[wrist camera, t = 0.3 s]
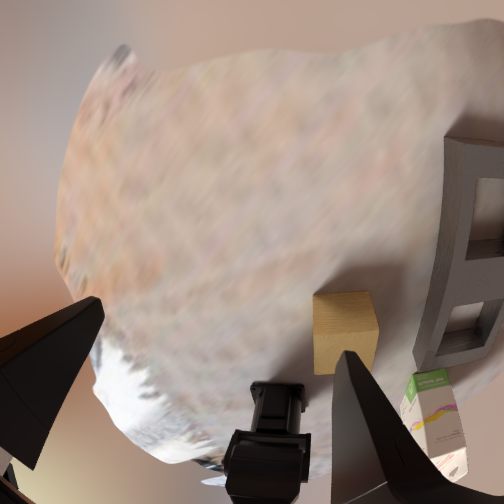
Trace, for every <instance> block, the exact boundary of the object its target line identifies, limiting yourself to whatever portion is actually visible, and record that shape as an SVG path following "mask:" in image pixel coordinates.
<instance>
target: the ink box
mask: <svg viewBox="0 0 504 504" xmlns="http://www.w3.org/2000/svg"><path fill="white" fill-rule="evenodd" d="M400 410H401V417H402V421H403V424H405V426H406V427H407V429H408V430H409V432H410V433H411V435H412V436H413V438H414V439H415V441H416V442H417V443H418V445H419V446H420V447H421V449H422V450H423V451H424V453H425V454H426V455H427V456H428V457H429V459H430V460H431V461H432V462H433V464H434V465H435V466H436V467H437V468H438V470H439V471H440V470H441V473H442V474H443V476H445V477H446V478H447V479H448V480H450V481H451V482H453V483H454V482H455V481H457V480H458V479H460V478H461V477H463V476H464V475H465V474H467V473H468V458H467V451H466V442H465V437H464V433H463V429H462V424H461V420H460V416H459V413H458V409H457V405H456V401H455V398H454V394H453V391H452V388H451V384H450V381H449V378H448V375H447V372H446V369H445V368H442V369H438V370H434V371H429V372H424V373H420V374H415V375H412V378H411V381H410V383H409V386H408V389H407V391H406V393H405V396H404V399H403V401H402V403H401V406H400ZM457 466H458V471H457V472H456V473H455V475H454V476H453V475H452V476H450V472H451V471H452V470H453V469H454V468H456V467H457Z"/></svg>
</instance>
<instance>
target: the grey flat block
mask: <svg viewBox="0 0 504 504" xmlns="http://www.w3.org/2000/svg"><path fill="white" fill-rule="evenodd" d="M476 177H480V178H501V179H504V143H501V142H493V141H485V140H476V139H466V138H454V137H444V181H443V198H442V210H441V220H440V229H439V236H438V244H437V250H436V257H435V262H434V268H433V273H432V278H431V283H430V288H429V293H428V297H427V301H426V305H425V309H424V313H423V317H422V321H421V325H420V328H419V332H418V335H417V338H416V342H415V345H414V348H413V351H412V352H413V356H414V359H415V362H416V366H417V369H418V373H420V372H425V371H431V370H436V369H441V368H446V367H451V366H455V365H460V364H464V363H468V362H472V361H476V360H480V359H484V358H485V357H486V356H487V354H488V352H489V350H490V348H491V346H492V344H493V342H494V340H495V338H496V336H497V334H498V332H499V329H500V327H501V325H502V323H503V320H504V232H503V237H502V239H490V240H477V241H469V235H470V229H471V223H472V216H473V208H474V200H475V189H476ZM479 302H484V304H483V307H482V310H481V313H480V315H479V318H478V320H477V323H476V325H475V328H470V329H465V330H460V331H455V332H449V333H444V331H445V328H446V325H447V322H448V319H449V316H450V313H451V310H452V307H455V306H461V305H467V304H473V303H479Z"/></svg>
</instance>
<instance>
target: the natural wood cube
mask: <svg viewBox="0 0 504 504" xmlns="http://www.w3.org/2000/svg"><path fill="white" fill-rule="evenodd" d="M378 336H379V327H378V323H377V319H376V315H375V311H374V307H373V303H372V300H371V296H370V292H369V291H360V292H347V293H332V294H316V295H313V342H314V375H323V374H335V367H336V364H337V362H338V360H339V358H340V356H341V354H342V352H343V351H344V350H350V351H355V352H356V353H357V354H358V356H359V357H360V359H361V360H362V362H363V363H364V365H365V366H366V367H367V369H368V370H369V371H371V370H372V366H373V361H374V356H375V351H376V346H377V341H378Z"/></svg>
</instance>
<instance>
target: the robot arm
mask: <svg viewBox="0 0 504 504" xmlns="http://www.w3.org/2000/svg"><path fill="white" fill-rule="evenodd" d="M104 318H105V314H104V310H103V306H102V302H101V300H100V299H99V298H97V297H94V296H89V297H87V298H85V299H83V300H81V301H78V302H76V303H74V304H72V305H70V306H68V307H66V308H63V309H61V310H59V311H57V312H55V313H53V314H51V315H48V316H47V317H44V318H42V319H40V320H38V321H36V322H34V323H32V324H29V325H27V326H25V327H23V328H21V329H20V330H17V331H15V332H13V333H11V334H9V335H6V336H4V337H2V338H0V504H35V503H34V502H33V501H31V500H30V499H29V498H28V497H26V496H25V495H24V494H22V493H21V492H20V491H19V490H18V489H19V488H18V485H17V481H16V478H15V474H14V470H13V466H12V464H11V463H10V461H11V460H12V458H13V457H14V458H16V459H17V460H18V461H20V462H21V463H22V464H24V465H25V466H27V467H28V468H30V469H31V470H32V471H33V470H34V468H35V466H36V463H37V461H38V458H39V456H40V453H41V451H42V449H43V446H44V444H45V441H46V439H47V437H48V434H49V431H50V430H51V427H52V425H53V423H54V421H55V418H56V416H57V414H58V412H59V410H60V408H61V406H62V404H63V402H64V400H65V398H66V396H67V394H68V392H69V390H70V388H71V386H72V384H73V382H74V380H75V378H76V376H77V374H78V373H79V371H80V369H81V367H82V365H83V363H84V361H85V360H86V358H87V356H88V354H89V352H90V350H91V348H92V346H93V344H94V341H95V339H96V337H97V334H98V332H99V330H100V328H101V325H102V323H103V321H104ZM250 390H251V394H252V397H253V400H254V403H255V409H254V415H253V420H252V425H251V431H241V430H238V429H236V430H235V432H234V434H233V435H232V438H231V441H230V443H229V446H228V449H227V451H226V454H225V455H224V457H223V459H222V461H221V463H222V465H223V466H224V474H225V476H226V477H227V480H226V484H225V488H226V490H227V493H228V495H230V498H231V500H232V502H233V504H294V503H295V502H296V500H297V499H298V497H299V492H300V484H301V483H307V482H308V476H309V466H310V449H311V433H306V434H299V432H300V419H301V413H304V412H305V387H304V386H303V385H258V384H253V385H251V386H250ZM304 451H305V452H304ZM303 452H304V453H303ZM331 485H332V486H331V504H504V496H493V495H489V494H486V493H483V492H479V491H476V490H473V489H470V488H467V487H464V486H461V485H458V484H455V483H453V482H451V481H450V480H448V479H447V478H446V477H445V476H443V474H442V473H441V472H440V471H439V470H438V468H437V467H436V466H435V465H434V464H433V462H432V461H431V460H430V459H429V457H428V456H427V455H426V454H425V453H424V451H423V450H422V449H421V447H420V446H419V445H418V443H417V442H416V441H415V439H414V438H413V436H412V435H411V433H410V432H409V430H408V429H407V427H406V426H405V424H403V421H402V420H401V418H400V417H399V415H398V414H397V412H396V411H395V409H394V408H393V406H392V405H391V403H390V402H389V400H388V399H387V397H386V396H385V394H384V393H383V391H382V390H381V388H380V387H379V385H378V384H377V382H376V381H375V379H374V378H373V376H372V375H371V373H370V372H369V370H368V369H367V367H366V366H365V365H364V363H363V362H362V360H361V359H360V357H359V356H358V354H357V353H356V352H355V351H350V350H344V351H343V352H342V354H341V356H340V358H339V360H338V362H337V364H336V367H335V376H334V388H333V400H332V483H331Z"/></svg>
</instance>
